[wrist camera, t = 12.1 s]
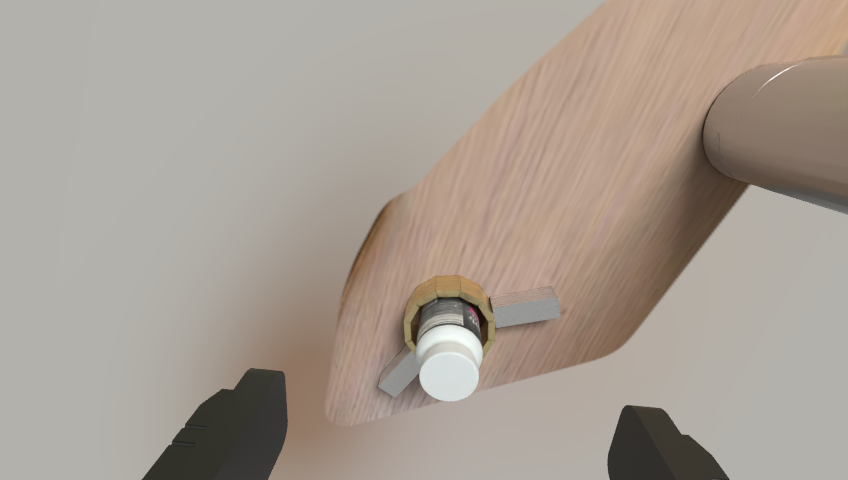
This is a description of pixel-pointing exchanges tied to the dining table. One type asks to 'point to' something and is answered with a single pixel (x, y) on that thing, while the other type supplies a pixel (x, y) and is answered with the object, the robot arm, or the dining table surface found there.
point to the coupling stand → (496, 312)
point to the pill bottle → (449, 348)
